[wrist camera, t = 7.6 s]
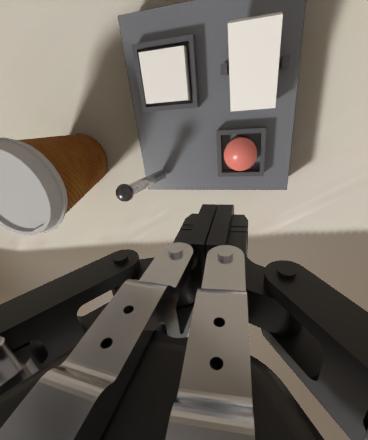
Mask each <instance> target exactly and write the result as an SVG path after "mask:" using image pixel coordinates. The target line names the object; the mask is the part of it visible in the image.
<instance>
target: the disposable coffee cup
mask: <svg viewBox="0 0 368 440" xmlns="http://www.w3.org/2000/svg"><path fill="white" fill-rule="evenodd" d="M106 171H107V158H106V155H105V153H104V151H103V149H102V147H101V146H100V145H99V144H98V143H97V142H96V141H95V140H94V139H93V138H91V137H89V136H87V135H83V134H76V135H66V136H55V137H46V138H36V139H25V140H13V139H8V138H0V225H2V226H3V227H5V228H7V229H9V230H11V231H13V232H15V233H18V234H22V235H35V234H38V233H45V232H49V231H52V230H54V229H55V228H57V227H58V226H59V224H60V223H61V222H62V220H63V218H64V216H65V214H66V213H67V211H69V210H70V208H72V207H73V206H74V205H75V204H76V203H77V202H78V201H79V200H80V199H81V198H82V197H83V196H84V195H85V194H86V193H87V192H88V191H89V190H90V189H91V188H92V187H93V186H94V185H96V183H98V182H99V181H100V180H101V179H102V178H103V177H104V175H105V174H106Z"/></svg>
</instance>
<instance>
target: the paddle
mask: <svg viewBox="0 0 368 440" xmlns="http://www.w3.org/2000/svg"><path fill="white" fill-rule="evenodd" d="M138 54H139V60H140V67H141V73H142V80H143V86H144V93H145V99H146V104H153V103H163V102H174V101H184V100H190V99H191V88H190V75H189V62H188V49H187V47H186V46H184V45H183V46H177V47H170V48H164V49H158V50H151V51H145V52H138Z"/></svg>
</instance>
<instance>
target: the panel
mask: <svg viewBox="0 0 368 440" xmlns="http://www.w3.org/2000/svg"><path fill="white" fill-rule="evenodd" d="M305 3H306V0H192V1H188V2H183V3H178V4H173V5H168V6H163V7H158V8H153V9H148V10H144V11H139V12H134V13H129V14H124V15H119V16H118V21H119V27H120V33H121V38H122V44H123V50H124V55H125V61H126V67H127V72H128V78H129V84H130V89H131V95H132V101H133V106H134V112H135V118H136V123H137V129H138V135H139V140H140V146H141V152H142V157H143V163H144V169H145V174H146V177H147V176H149V175H151V174H153V173H155V172H157V171H159V170H165V171H166V173H167V176H166V178H165V179H163V180H161V181H159V182H157V183H155V184H153V185H151V186H149V187H148V189H176V190H287V183H288V173H289V163H290V153H291V143H292V133H293V123H294V113H295V103H296V93H297V83H298V73H299V63H300V53H301V43H302V33H303V23H304V13H305ZM277 12H282V13H283V19H282V32H281V44H280V57H279V69H278V82H277V94H276V107H275V108H269V109H257V110H244V111H231V109H230V79H229V49H228V22H229V21H231V20H237V19H243V18H249V17H254V16H260V15H266V14H271V13H277ZM183 45H184V46H186V47H187V49H188V62H189V75H190V88H191V99H190V100H184V101H174V102H163V103H153V104H146V99H145V93H144V86H143V80H142V73H141V67H140V60H139V54H138V52H145V51H151V50H158V49H164V48H170V47H177V46H183ZM237 136H246V137H249V138H251V139H252V140H253V141H254V142H255V144H256V147H257V158H256V161H255V163H254V164H253V165H252V166H251V167H250V168H249V169H247V170H243V171H236V170H233V169H231V168H230V167H229V166H228V165H227V164H226V162H225V160H224V151H225V148H226V146H227V144H228V143H229V141H230V140H232V139H233V138H235V137H237Z"/></svg>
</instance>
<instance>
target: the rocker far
mask: <svg viewBox="0 0 368 440" xmlns="http://www.w3.org/2000/svg"><path fill="white" fill-rule="evenodd" d="M282 19H283V13H282V12H277V13H271V14H266V15H260V16H254V17H249V18H243V19H237V20H231V21H229V22H228V49H229V79H230V109H231V111H244V110H257V109H269V108H275V107H276V94H277V82H278V69H279V57H280V44H281V32H282Z"/></svg>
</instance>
